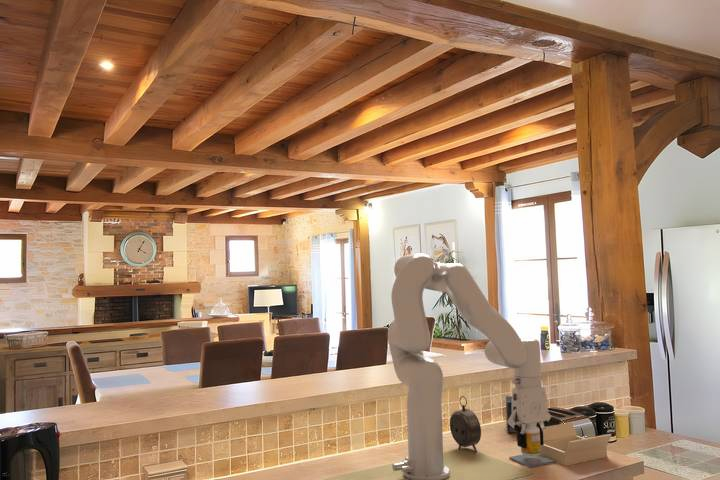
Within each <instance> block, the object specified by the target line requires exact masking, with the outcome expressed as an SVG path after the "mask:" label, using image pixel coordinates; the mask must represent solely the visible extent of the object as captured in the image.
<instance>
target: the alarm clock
mask: <svg viewBox="0 0 720 480" xmlns="http://www.w3.org/2000/svg"><path fill="white" fill-rule="evenodd" d="M462 398H464V400H465V404H462V402H461V401H462V400H461V399H462ZM459 403H460V406H461V407H462V409H459V410H456V411H453V412H452V414H451V415H450V419H449V430H450V433H451V436H452V438H453V440H454V442H456V444H457V445H458V449H457V450H458V451H460V450H461V447H462V448H463V447H464V448H467V447H471V446H472V448H473V450H474V452H475V453H478V450H477V448H476V445H478V444H479V442H480V440H481V438H482V437H481V436H482V427H481V424H480V420H479V418H478V416H477V414H475V412H474V411H473V410H471V409H469V408H466V406H467V404H468V400H467V398H466V397H465V395H462V396H460V397H459Z"/></svg>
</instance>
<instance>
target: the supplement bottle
mask: <svg viewBox="0 0 720 480" xmlns="http://www.w3.org/2000/svg"><path fill="white" fill-rule="evenodd" d="M536 425H537V423H532V424H526V427H525V431H524V434H526V444H527V447H526V448H522V447H520V451H521V455H522V454H523V455H527V456H538V455H540V454H541V447H540V429H539V428H538V427H537V426H536Z"/></svg>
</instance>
